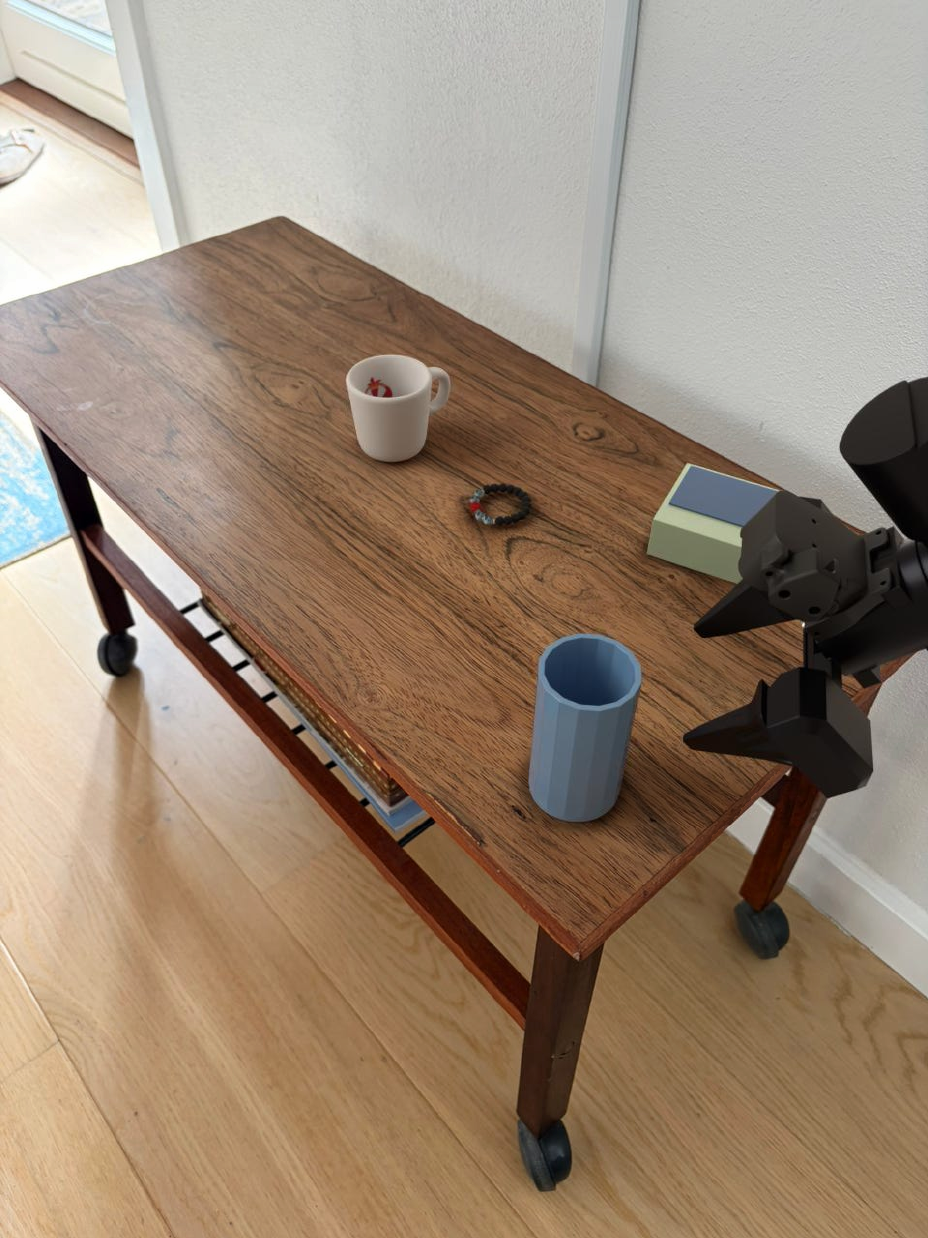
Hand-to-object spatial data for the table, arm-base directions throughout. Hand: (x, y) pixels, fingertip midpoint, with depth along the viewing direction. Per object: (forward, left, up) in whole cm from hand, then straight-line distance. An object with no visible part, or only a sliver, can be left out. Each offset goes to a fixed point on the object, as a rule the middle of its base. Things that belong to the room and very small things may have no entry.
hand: (692, 684), depth 62 cm
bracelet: (+24, -23, -12) cm, 36 cm away
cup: (+37, -28, -12) cm, 48 cm away
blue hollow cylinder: (+6, +2, -12) cm, 14 cm away
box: (+5, -28, -12) cm, 31 cm away
